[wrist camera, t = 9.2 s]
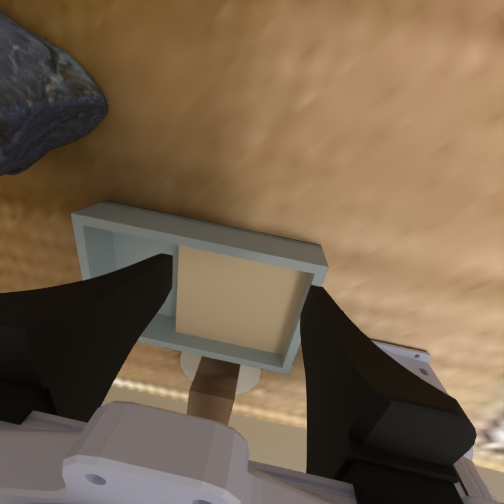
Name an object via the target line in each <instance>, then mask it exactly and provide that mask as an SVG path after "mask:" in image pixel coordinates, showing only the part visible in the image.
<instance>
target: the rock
mask: <svg viewBox="0 0 504 504" xmlns="http://www.w3.org/2000/svg"><path fill="white" fill-rule="evenodd" d="M107 112H108V105H107V103H106V99H105V97H104V94H103V92H102V91H101V89H100V88H99V87H98V86H97V84H96V83H95V82H94V81H93V80H92V78H91V77H90V76H89V75H88V74H87V73H86V72H85V71H84V70H83V68H82V67H81V66H80V65H79V64H78V63H77V62H76V61H75V60H74V59H73V58H72V57H71V56H69V55H68V54H67V53H65V52H64V51H63V50H61V49H59V48H58V47H56V46H54V45H53V44H51V43H49V42H48V41H46V40H44V39H42V38H41V37H39V36H38V35H36V34H35V33H33V32H31V31H30V30H28V29H26V28H24V27H22V26H21V25H19V24H17V23H15V22H14V21H13V20H12V19H10V18H9V17H8V16H7V15H6V14H5V13H4V12H3V11H1V10H0V176H1V175H4V174H9V175H16V174H19V173H21V172H23V171H25V170H27V169H28V168H29V167H30V166H32V165H33V164H34V163H35V162H37V161H38V160H39V159H40V158H42V157H43V156H44V155H45V153H46V152H48V151H49V150H52V149H54V148H57V147H60V146H64V145H66V144H69V143H71V142H74V141H76V140H78V139H79V138H81V137H83V136H85V135H87V134H88V133H90V132H91V131H92V129H93V128H94V127H95V126H96V125H97V124H98V123H99V122H100V121H101V120H102V119H103V118H104V117H105V116H106V114H107Z"/></svg>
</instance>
